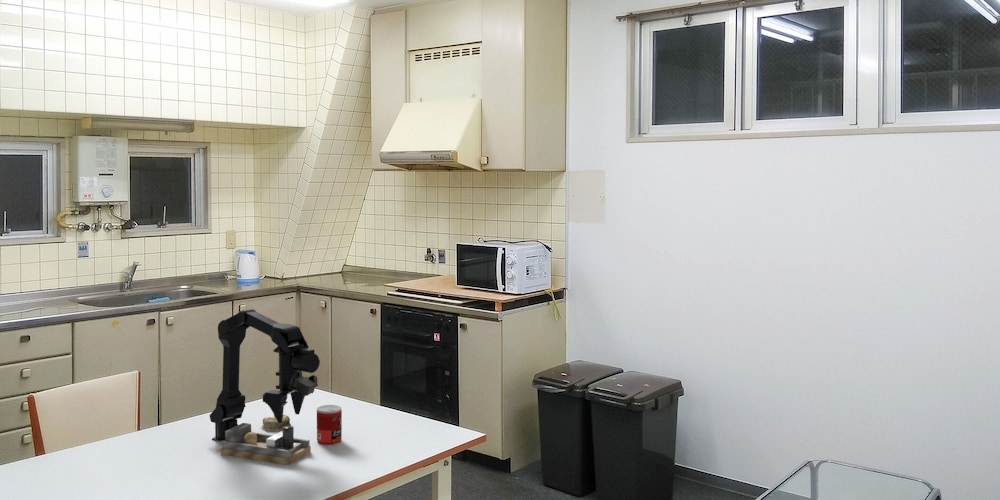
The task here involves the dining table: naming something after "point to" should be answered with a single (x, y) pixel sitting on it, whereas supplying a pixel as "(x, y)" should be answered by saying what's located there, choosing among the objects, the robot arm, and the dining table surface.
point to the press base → (260, 447)
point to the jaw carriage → (283, 440)
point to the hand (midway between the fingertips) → (288, 418)
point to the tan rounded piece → (250, 438)
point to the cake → (275, 423)
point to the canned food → (329, 424)
